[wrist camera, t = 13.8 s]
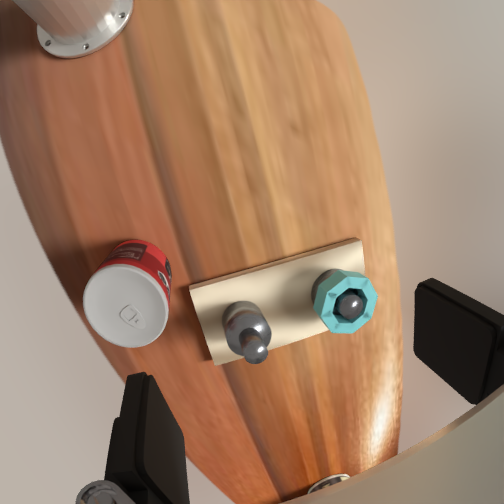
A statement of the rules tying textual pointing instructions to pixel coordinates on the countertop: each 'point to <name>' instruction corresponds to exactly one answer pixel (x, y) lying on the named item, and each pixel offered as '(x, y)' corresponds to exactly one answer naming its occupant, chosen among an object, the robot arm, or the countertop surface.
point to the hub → (341, 298)
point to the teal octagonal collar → (336, 287)
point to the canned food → (130, 294)
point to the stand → (247, 331)
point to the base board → (273, 295)
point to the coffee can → (328, 482)
